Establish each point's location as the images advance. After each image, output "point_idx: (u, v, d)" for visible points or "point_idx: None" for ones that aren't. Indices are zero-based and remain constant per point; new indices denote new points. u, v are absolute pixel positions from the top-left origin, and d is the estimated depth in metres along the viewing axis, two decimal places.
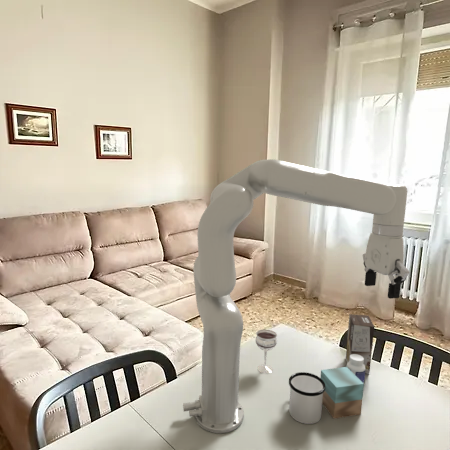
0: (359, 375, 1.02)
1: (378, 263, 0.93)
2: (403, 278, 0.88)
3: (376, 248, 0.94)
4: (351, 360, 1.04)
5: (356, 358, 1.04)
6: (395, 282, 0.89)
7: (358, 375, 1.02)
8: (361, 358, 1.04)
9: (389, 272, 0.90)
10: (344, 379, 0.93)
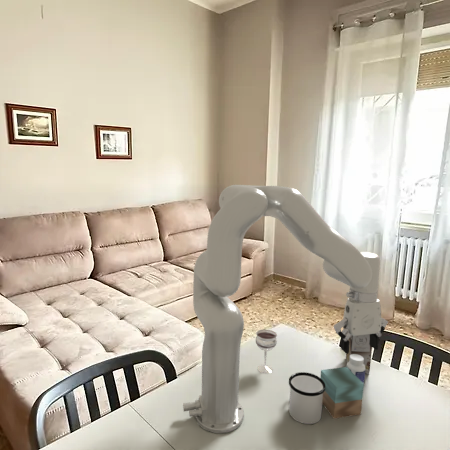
0: (359, 375, 1.02)
1: (371, 326, 1.00)
2: None
3: (367, 314, 0.99)
4: (351, 360, 1.04)
5: (356, 358, 1.04)
6: (380, 333, 1.04)
7: (358, 375, 1.02)
8: (361, 358, 1.04)
9: None
10: (344, 379, 0.93)
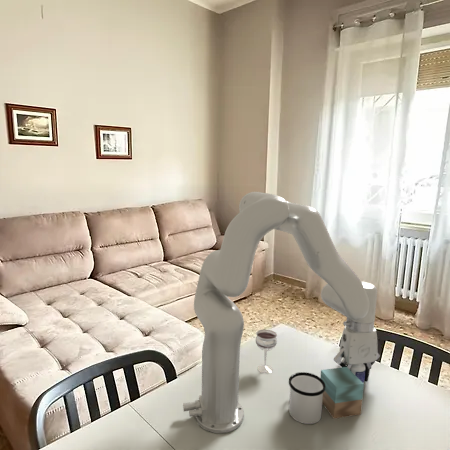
0: (359, 375, 1.02)
1: (367, 355, 1.02)
2: None
3: (363, 344, 1.01)
4: None
5: None
6: (370, 366, 1.05)
7: (358, 375, 1.02)
8: None
9: None
10: (344, 379, 0.93)
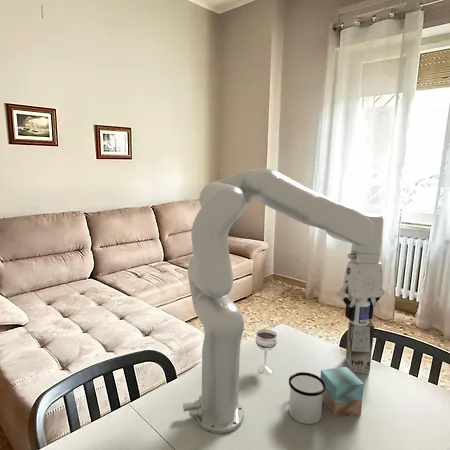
0: (364, 310, 0.98)
1: (372, 289, 0.97)
2: None
3: (368, 277, 0.96)
4: None
5: None
6: None
7: (362, 310, 0.98)
8: None
9: None
10: (344, 379, 0.93)
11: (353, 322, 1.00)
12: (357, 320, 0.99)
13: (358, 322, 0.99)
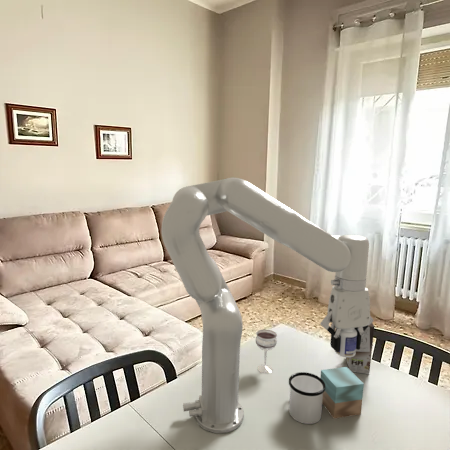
0: (350, 341, 0.90)
1: (358, 318, 0.89)
2: None
3: (354, 305, 0.88)
4: None
5: None
6: None
7: (349, 341, 0.90)
8: None
9: None
10: (344, 379, 0.93)
11: (339, 353, 0.91)
12: (343, 351, 0.91)
13: (344, 354, 0.91)
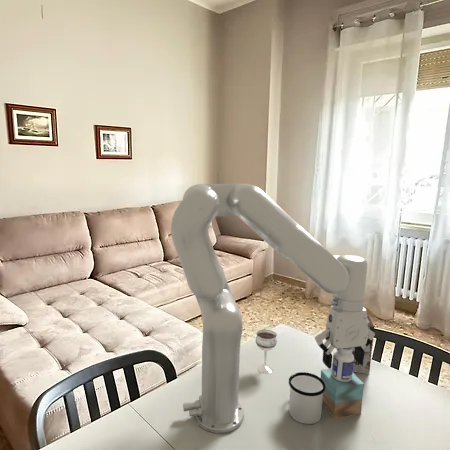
0: (347, 366, 0.91)
1: (356, 338, 0.90)
2: None
3: (352, 325, 0.89)
4: (338, 349, 0.92)
5: None
6: None
7: (346, 366, 0.91)
8: None
9: None
10: None
11: (336, 377, 0.92)
12: (340, 375, 0.92)
13: (341, 378, 0.92)
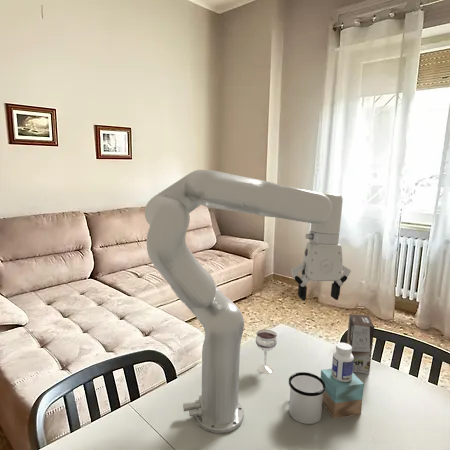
0: (347, 365, 0.91)
1: (330, 272, 0.93)
2: None
3: (326, 258, 0.92)
4: (338, 349, 0.92)
5: (343, 347, 0.92)
6: (342, 283, 0.97)
7: (346, 366, 0.91)
8: (349, 347, 0.92)
9: None
10: None
11: (336, 378, 0.92)
12: (340, 376, 0.92)
13: (341, 378, 0.92)
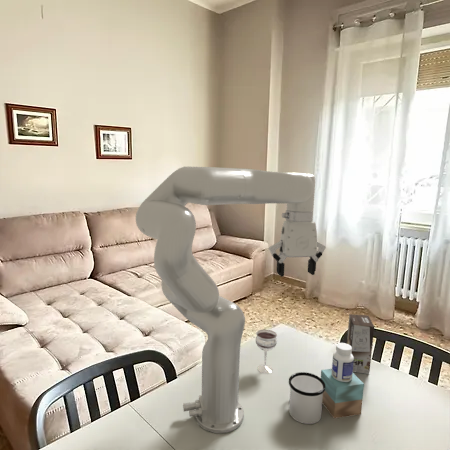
0: (347, 366, 0.91)
1: (306, 248, 0.99)
2: None
3: (301, 235, 0.98)
4: (338, 350, 0.92)
5: (343, 347, 0.92)
6: (317, 258, 1.02)
7: (346, 366, 0.91)
8: (349, 347, 0.92)
9: None
10: None
11: (336, 378, 0.92)
12: (340, 376, 0.92)
13: (341, 378, 0.92)
